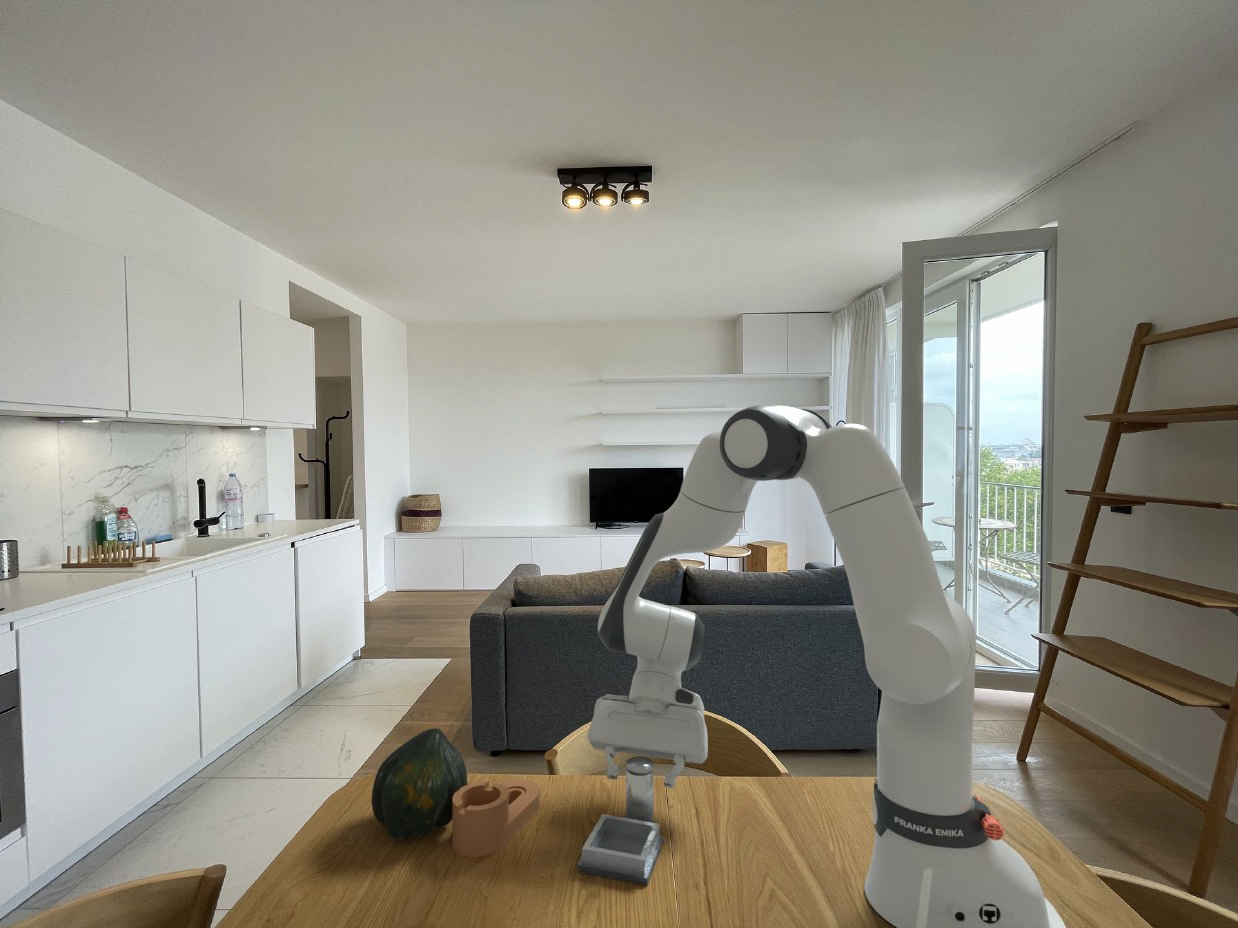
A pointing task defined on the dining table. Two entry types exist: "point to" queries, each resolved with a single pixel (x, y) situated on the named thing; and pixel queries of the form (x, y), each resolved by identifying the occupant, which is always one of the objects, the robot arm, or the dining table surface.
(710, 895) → the dining table surface
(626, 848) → the square open tray
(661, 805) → the dining table surface
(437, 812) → the squash
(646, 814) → the upright metal cylinder
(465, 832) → the bracket
